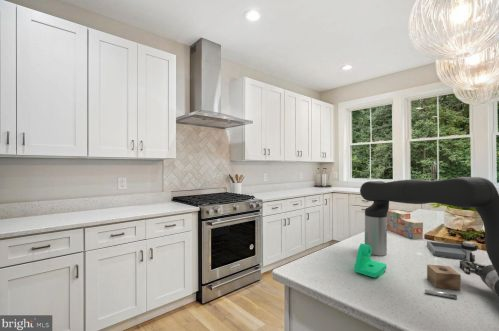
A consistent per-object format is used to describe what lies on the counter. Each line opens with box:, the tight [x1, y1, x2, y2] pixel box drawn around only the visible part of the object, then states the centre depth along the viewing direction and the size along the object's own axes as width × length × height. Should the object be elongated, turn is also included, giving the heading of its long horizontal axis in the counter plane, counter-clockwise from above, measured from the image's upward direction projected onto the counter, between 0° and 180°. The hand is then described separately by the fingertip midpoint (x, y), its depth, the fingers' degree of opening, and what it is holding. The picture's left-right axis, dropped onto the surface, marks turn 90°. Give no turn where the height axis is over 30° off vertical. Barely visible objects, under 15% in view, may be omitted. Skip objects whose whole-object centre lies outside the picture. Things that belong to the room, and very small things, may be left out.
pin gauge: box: [424, 289, 458, 299], centre depth 79 cm, size 8×1×1 cm, turn 66°
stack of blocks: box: [387, 209, 424, 240], centre depth 147 cm, size 21×6×12 cm, turn 7°
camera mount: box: [353, 243, 387, 278], centre depth 97 cm, size 12×8×10 cm, turn 133°
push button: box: [459, 240, 479, 268], centre depth 100 cm, size 7×5×10 cm
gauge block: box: [426, 264, 462, 291], centre depth 87 cm, size 7×7×5 cm
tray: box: [426, 240, 476, 262], centre depth 116 cm, size 14×15×2 cm
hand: (479, 262), depth 91 cm, fingers open, 8 cm apart
